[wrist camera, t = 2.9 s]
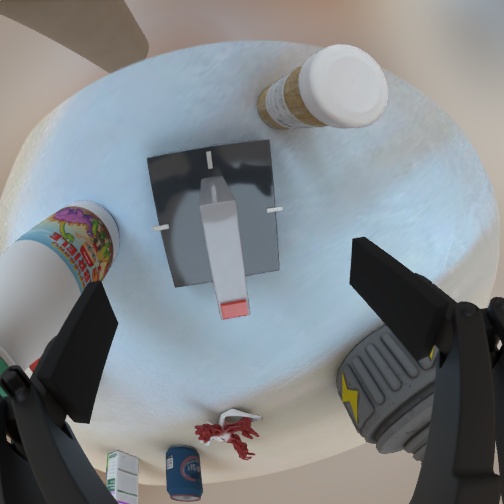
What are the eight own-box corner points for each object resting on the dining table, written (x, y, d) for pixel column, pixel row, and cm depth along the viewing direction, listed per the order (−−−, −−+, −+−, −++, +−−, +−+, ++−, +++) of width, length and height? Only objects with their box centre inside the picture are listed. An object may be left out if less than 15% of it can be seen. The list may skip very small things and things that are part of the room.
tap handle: (200, 178, 21) (199, 207, 13) (222, 175, 21) (236, 201, 13) (213, 257, 24) (221, 322, 16) (233, 253, 24) (251, 317, 16)
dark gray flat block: (146, 156, 22) (139, 159, 19) (268, 138, 24) (277, 138, 21) (171, 273, 27) (168, 289, 24) (277, 256, 29) (286, 269, 26)
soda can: (205, 450, 44) (211, 498, 34) (185, 458, 45) (188, 503, 35) (179, 441, 41) (182, 493, 31) (159, 449, 42) (160, 497, 32)
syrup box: (117, 449, 42) (113, 503, 29) (139, 458, 44) (139, 510, 31) (107, 454, 42) (103, 504, 29) (128, 462, 45) (127, 511, 32)
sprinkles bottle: (311, 101, 23) (403, 82, 10) (288, 139, 24) (369, 146, 12) (270, 75, 21) (337, 26, 9) (246, 114, 22) (293, 91, 10)
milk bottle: (89, 282, 26) (14, 438, 8) (46, 229, 23) (-74, 351, 5) (136, 242, 25) (60, 422, 7) (89, 182, 22) (-69, 290, 4)
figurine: (279, 420, 43) (287, 449, 37) (226, 440, 43) (230, 468, 37) (233, 386, 36) (240, 423, 30) (174, 411, 37) (174, 445, 31)
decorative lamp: (319, 402, 42) (380, 541, 15) (350, 323, 35) (468, 506, 8) (399, 380, 46) (466, 485, 19) (436, 307, 38) (541, 421, 11)
